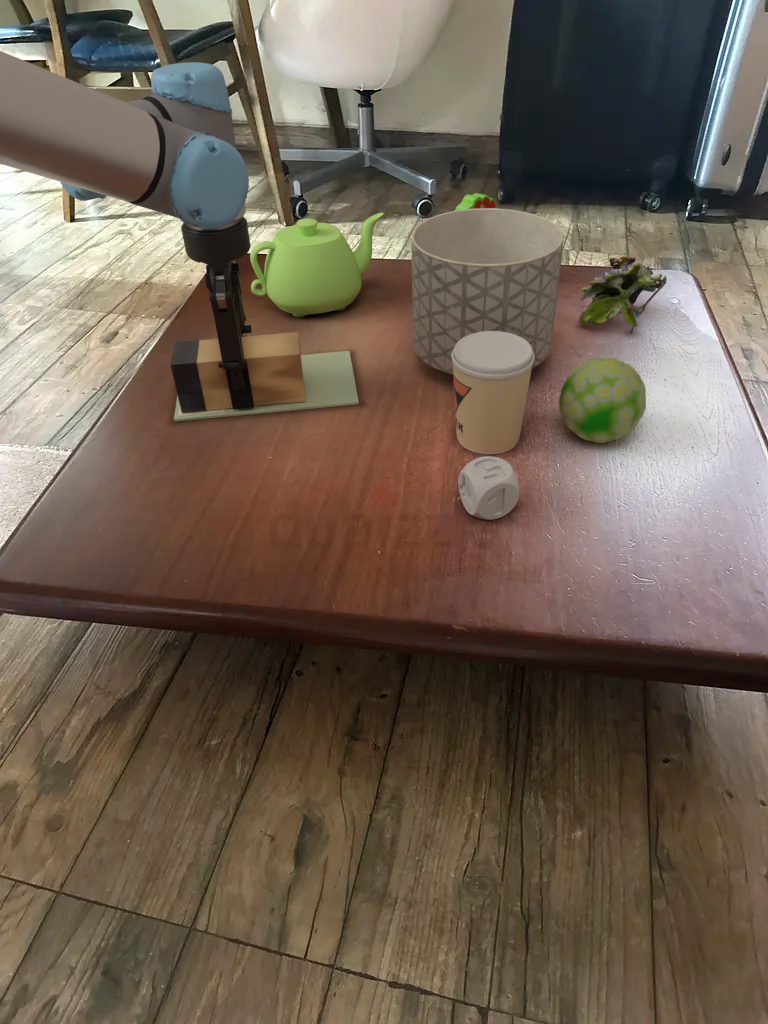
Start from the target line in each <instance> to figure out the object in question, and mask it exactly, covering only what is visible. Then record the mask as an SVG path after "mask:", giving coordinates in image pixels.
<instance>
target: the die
mask: <svg viewBox="0 0 768 1024" xmlns="http://www.w3.org/2000/svg"><path fill="white" fill-rule="evenodd" d="M457 478H458V479H457V485H458V493H459V496H460V500H461V502H462V505H463V507H464V509H465V511H466V512H467V513H468V514H469V515H471V516H472V517H474V518H476V519H480V520H483V521H488V520H489V521H491V520H498V519H500V518H502V517H504V516H506V515H507V514H509V513H511V511H513V510H514V508H515V506H516V505H517V503H518V501H519V500H520V485H519V480H518V476H517V474H516V471H515V469H514V467H513V466H512V465H511V464H510V462H508V461H507V460H505V459H503V458H501V457H498V456H497V457H496V456H493V455H492V456H489V455H487V456H479V457H477V458H474V459H472V460H471V461H469V462H467V463H466V465H464V467H463V468H462V469H461V471H460V472H459V475H458V477H457Z"/></svg>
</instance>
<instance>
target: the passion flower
mask: <svg viewBox="0 0 768 1024" xmlns="http://www.w3.org/2000/svg"><path fill="white" fill-rule="evenodd" d="M636 261H637V258H636V257H630V256H626V255H621V256H620V257H619V258H616V257H610V258H609V259H608V262H609V267H612V269H611V268H608V269H609V271H608V270H604V271H603V273H598V275H599V276H597V277H595V276H594V279H593V280H592V281H589V282H588V284H589V285H590V286H588V287H582V288H581V290H582V291H583V292H584V293H583V294H582V295H581V298H580V301H581V302H582V301H584V300H585V299H587V298H588V297H592V298H591V302H590V303H589V304H588V306H587V307H586V309H585V310H584V311H583V312H582V313H581V314H580V316H579V324H580V326H582V327H583V326H585V325H588V324H591V325H593V326H598V325H602V324H605V323H606V322H608V321H610V320H611V319H613V318H614V317H616V316H618V315H619V314H620V313H622V317H623V318H624V321H625V322H626V323H627V324H628V325H630V326H631V330H630V333H629V334H631V335H632V334H633V332H634V330H635V328H637V327H638V325H637V323H638V321H639V319H640V317H641V315H642V314H643V313H644V312H645V309H646V307H647V305H648V304H649V303H650V302H651V301H652V300H653V299H654V298H655V296H656V295H657V294H658V293H659V292H660V290H662V289H663V288H664V286H665V285H666V284H667V280H668V279H667V275H664V277H663V274H662V273H659V274H657V275H654V271H652V270H653V267H650V266H649V265H647V267H646V264H645V265H643V264H641V262H637V263H635V262H636ZM662 277H663V278H662ZM643 291H645V292H648V293H652V294H651V296H650V297H649V298H648V299H647V300H646V302H644V303H643V304H641V305H640V306H637V307H636V306H635V303H636V302H637V299H638V298H639V296H640V295H641V293H642V292H643Z"/></svg>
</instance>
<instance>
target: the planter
mask: <svg viewBox="0 0 768 1024" xmlns="http://www.w3.org/2000/svg"><path fill="white" fill-rule="evenodd" d="M498 208H499V207H498ZM498 208H476V209H465V210H457V211H455V210H452V211H448V212H443V213H440V214H437V215H434V216H432V217H428V218H427V219H425V220H423V221H421V223H419V224H417V225H416V227H414V229H413V230H412V232H411V239H410V240H411V243H410V244H411V302H412V303H411V310H412V312H411V314H412V316H411V317H412V318H411V319H412V347H413V351H414V353H415V355H416V356H417V357H418V359H420V360H421V361H422V362H423V363H424V364H426V365H427V366H429V367H431V368H432V369H435V370H437V371H440V372H443V373H446V374H449V375H453V362H452V351H453V349H454V347H455V345H456V344H457V342H458V341H459V340H460V339H462V338H463V337H465V336H467V335H470V334H473V333H477V332H484V331H500V332H507V333H511V334H514V335H517V336H519V337H522V338H523V339H525V340H526V341H527V342H528V343H529V344H530V345H531V347H532V350H533V352H534V363H533V365H532V369H534V368H535V367H538V366H539V365H540V364H542V363H543V362H544V361H546V359H547V358H548V356H549V355H550V353H551V350H552V345H553V337H554V336H553V335H554V327H555V318H556V309H557V301H558V291H559V284H560V275H561V267H562V257H563V256H562V255H563V250H564V239H565V236H564V233H563V230H562V229H561V228H560V227H559V226H558V225H557V224H556V223H555V222H554V221H551V220H549V219H548V218H545V217H544V216H540V215H538V214H534V213H531V212H527V211H522V210H518V209H517V210H516V209H510V208H509V209H508V208H499V209H498Z"/></svg>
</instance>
